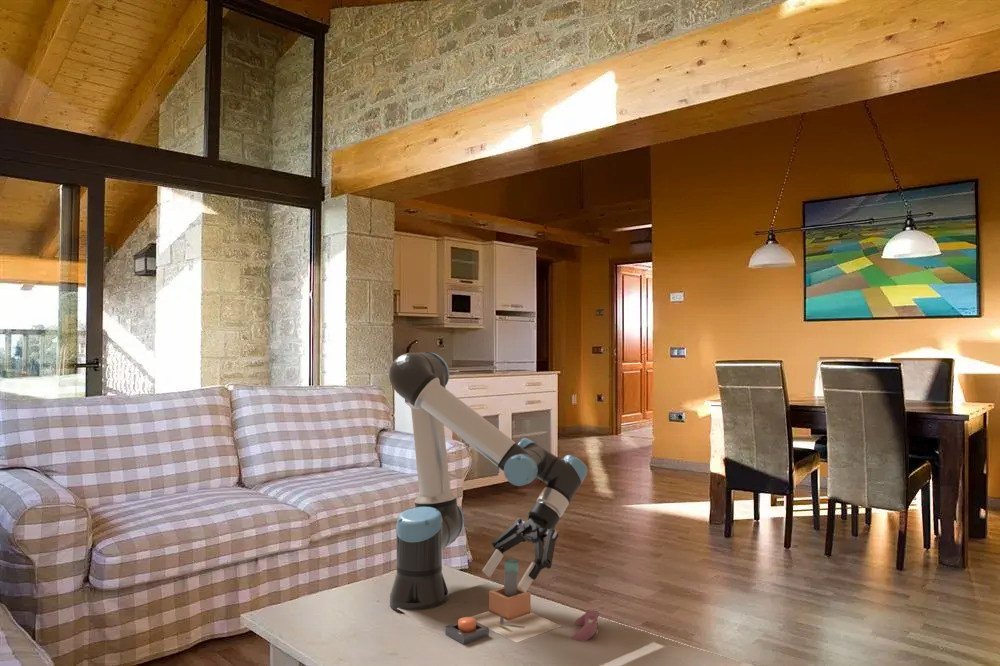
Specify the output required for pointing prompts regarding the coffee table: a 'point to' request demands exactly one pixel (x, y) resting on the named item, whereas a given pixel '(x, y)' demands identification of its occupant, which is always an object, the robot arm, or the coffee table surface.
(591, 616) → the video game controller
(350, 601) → the coffee table surface
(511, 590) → the marker
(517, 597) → the pen cup
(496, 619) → the board
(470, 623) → the button
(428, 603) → the robot arm
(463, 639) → the button housing
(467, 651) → the coffee table surface
